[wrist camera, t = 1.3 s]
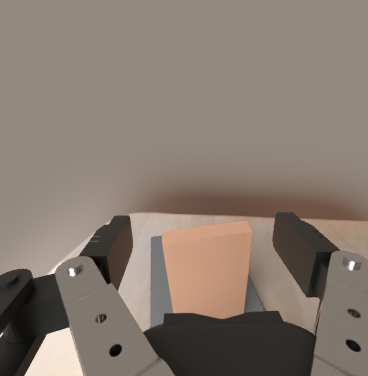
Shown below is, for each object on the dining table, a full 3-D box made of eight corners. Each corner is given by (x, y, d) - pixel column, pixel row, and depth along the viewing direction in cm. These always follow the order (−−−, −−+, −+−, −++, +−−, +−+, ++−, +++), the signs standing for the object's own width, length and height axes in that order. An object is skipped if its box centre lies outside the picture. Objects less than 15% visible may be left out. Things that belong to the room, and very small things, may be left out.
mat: (285, 359, 26) (285, 357, 26) (150, 384, 25) (149, 382, 24) (226, 229, 47) (226, 227, 46) (151, 239, 46) (151, 237, 45)
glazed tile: (242, 322, 29) (253, 231, 22) (176, 333, 29) (162, 244, 21) (237, 307, 31) (245, 218, 23) (175, 317, 31) (161, 229, 23)
